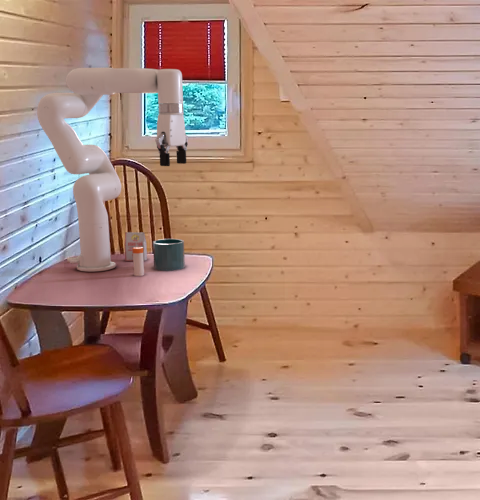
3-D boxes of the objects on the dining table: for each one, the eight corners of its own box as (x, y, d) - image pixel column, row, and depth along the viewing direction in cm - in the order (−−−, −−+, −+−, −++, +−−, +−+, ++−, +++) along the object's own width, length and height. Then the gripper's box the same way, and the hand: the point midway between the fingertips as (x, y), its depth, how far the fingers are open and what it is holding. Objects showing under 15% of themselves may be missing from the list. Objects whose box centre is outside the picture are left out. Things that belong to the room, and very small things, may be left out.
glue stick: (133, 276, 248) (132, 249, 246) (133, 274, 251) (132, 247, 249) (144, 275, 248) (143, 248, 247) (144, 273, 252) (143, 246, 250)
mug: (185, 269, 257) (184, 243, 255) (154, 271, 255) (153, 244, 253) (183, 261, 270) (182, 236, 268) (153, 262, 268) (152, 237, 266)
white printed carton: (128, 258, 274) (126, 231, 272) (147, 259, 274) (145, 231, 272) (125, 261, 270) (123, 233, 268) (144, 261, 270) (143, 233, 268)
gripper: (175, 109, 247) (177, 162, 251) (144, 110, 231) (147, 166, 235) (195, 109, 245) (197, 162, 248) (166, 110, 229) (169, 167, 232)
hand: (173, 164), depth 242 cm, fingers open, 9 cm apart
